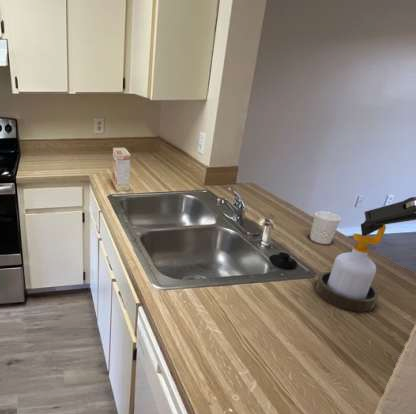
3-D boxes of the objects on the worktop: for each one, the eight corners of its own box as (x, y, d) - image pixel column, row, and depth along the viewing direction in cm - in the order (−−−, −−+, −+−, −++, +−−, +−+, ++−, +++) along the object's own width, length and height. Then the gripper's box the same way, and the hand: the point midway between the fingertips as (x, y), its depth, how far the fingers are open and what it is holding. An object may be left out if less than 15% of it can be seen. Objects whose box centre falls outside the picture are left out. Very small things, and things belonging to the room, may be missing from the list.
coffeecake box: (112, 181, 186) (112, 147, 178) (124, 181, 186) (125, 147, 178) (116, 191, 172) (116, 154, 164) (129, 190, 173) (131, 154, 165)
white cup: (303, 235, 127) (309, 212, 123) (321, 234, 128) (328, 210, 124) (319, 246, 119) (327, 221, 115) (338, 244, 121) (346, 219, 117)
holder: (366, 287, 97) (370, 278, 96) (380, 317, 86) (385, 306, 84) (312, 276, 102) (315, 267, 101) (319, 303, 91) (323, 293, 90)
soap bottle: (325, 280, 99) (349, 205, 90) (362, 289, 95) (392, 212, 85) (326, 296, 92) (353, 217, 83) (366, 308, 88) (400, 225, 78)
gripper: (396, 209, 57) (336, 242, 76) (586, 223, 51) (469, 256, 70) (390, 170, 59) (333, 212, 79) (570, 180, 54) (462, 223, 73)
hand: (397, 233), depth 74 cm, fingers open, 13 cm apart
